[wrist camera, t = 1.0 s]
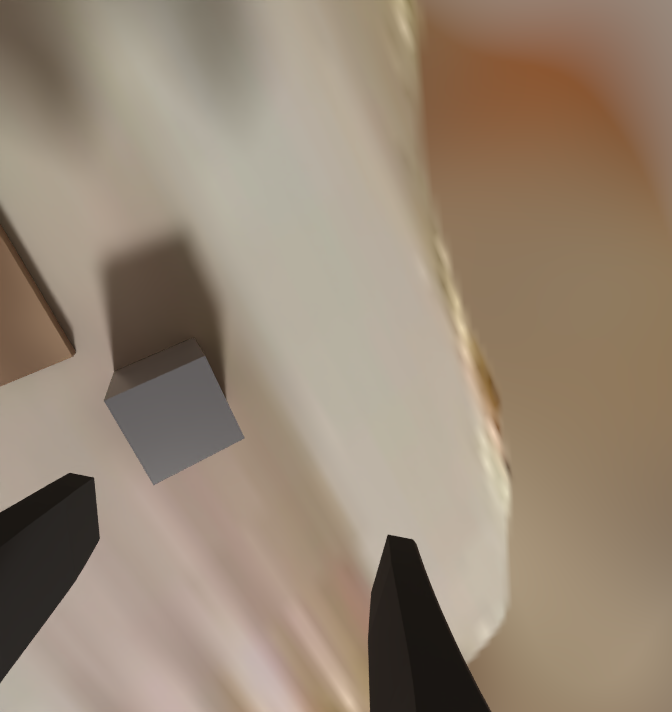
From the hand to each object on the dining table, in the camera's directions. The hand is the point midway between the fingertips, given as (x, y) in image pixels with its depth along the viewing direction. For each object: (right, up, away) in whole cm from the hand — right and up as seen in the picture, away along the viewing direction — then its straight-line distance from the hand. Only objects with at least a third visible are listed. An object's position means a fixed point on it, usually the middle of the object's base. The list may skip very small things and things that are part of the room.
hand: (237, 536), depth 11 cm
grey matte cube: (-6, +3, +11) cm, 13 cm away
